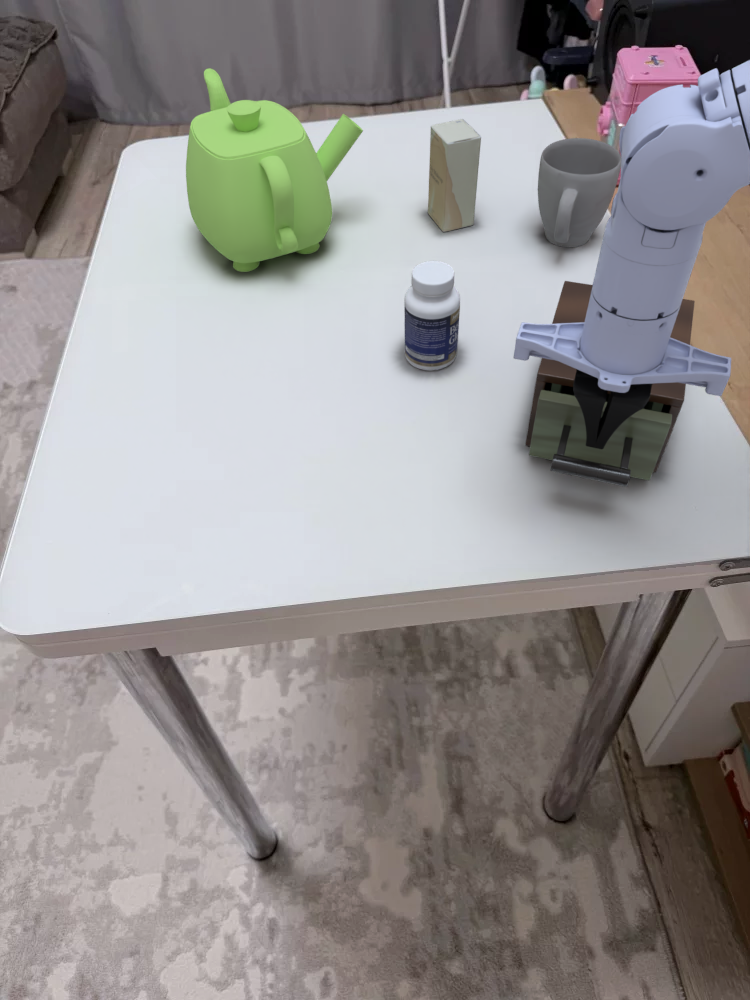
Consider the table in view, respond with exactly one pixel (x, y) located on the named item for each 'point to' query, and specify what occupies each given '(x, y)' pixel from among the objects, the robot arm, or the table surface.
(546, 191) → the mug
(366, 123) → the table surface
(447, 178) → the box
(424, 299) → the pill bottle
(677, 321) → the cabinet
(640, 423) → the drawer
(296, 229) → the teapot
